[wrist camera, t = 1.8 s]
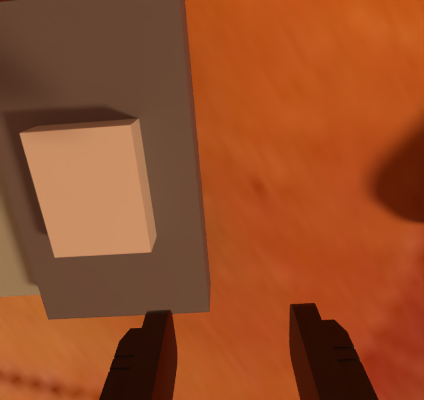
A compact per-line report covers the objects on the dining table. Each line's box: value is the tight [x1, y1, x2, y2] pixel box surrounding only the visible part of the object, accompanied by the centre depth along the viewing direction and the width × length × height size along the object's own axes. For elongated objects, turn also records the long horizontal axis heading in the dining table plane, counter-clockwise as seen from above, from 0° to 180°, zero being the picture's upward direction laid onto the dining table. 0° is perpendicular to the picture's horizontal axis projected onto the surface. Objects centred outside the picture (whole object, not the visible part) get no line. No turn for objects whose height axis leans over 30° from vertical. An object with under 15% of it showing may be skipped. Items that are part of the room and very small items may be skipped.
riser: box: [0, 0, 210, 319], centre depth 27 cm, size 24×14×4 cm, turn 4°
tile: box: [19, 118, 157, 258], centre depth 24 cm, size 9×7×2 cm
